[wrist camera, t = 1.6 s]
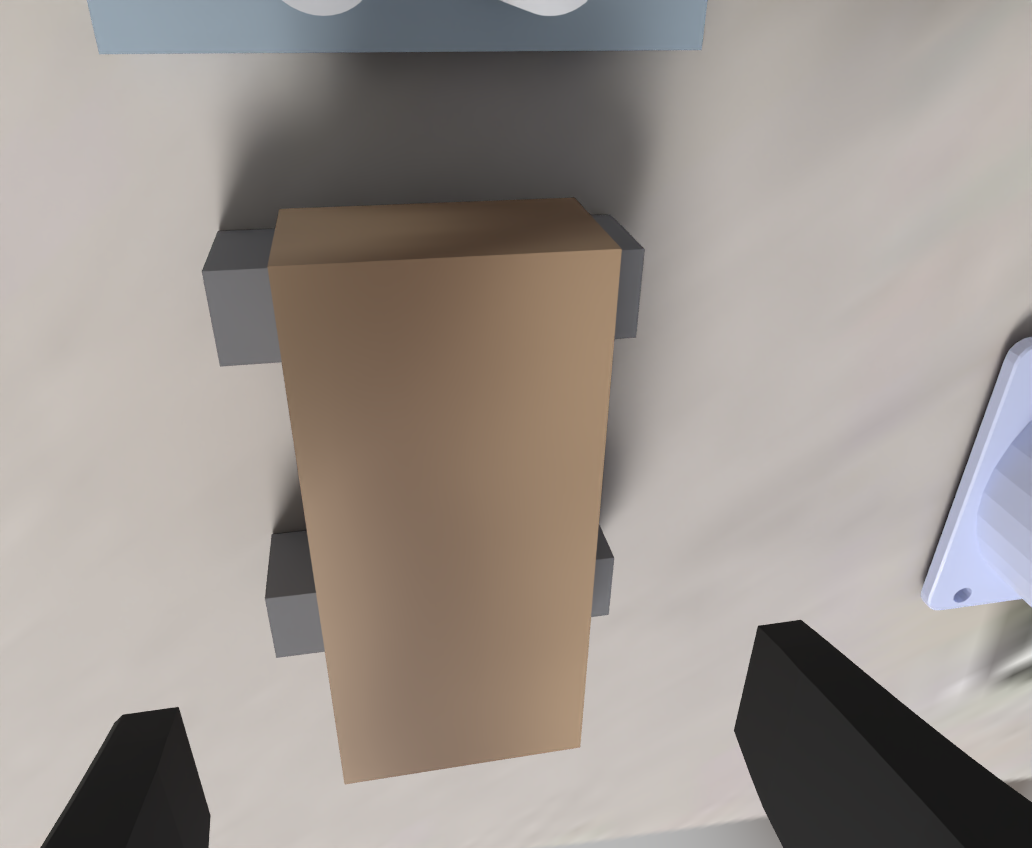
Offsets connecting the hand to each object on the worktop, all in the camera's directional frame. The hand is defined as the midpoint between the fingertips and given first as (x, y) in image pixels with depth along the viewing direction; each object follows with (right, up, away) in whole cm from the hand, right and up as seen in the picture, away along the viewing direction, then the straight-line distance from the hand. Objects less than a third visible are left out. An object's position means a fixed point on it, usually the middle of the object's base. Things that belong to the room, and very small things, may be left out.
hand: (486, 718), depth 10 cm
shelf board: (-1, +3, +5) cm, 6 cm away
